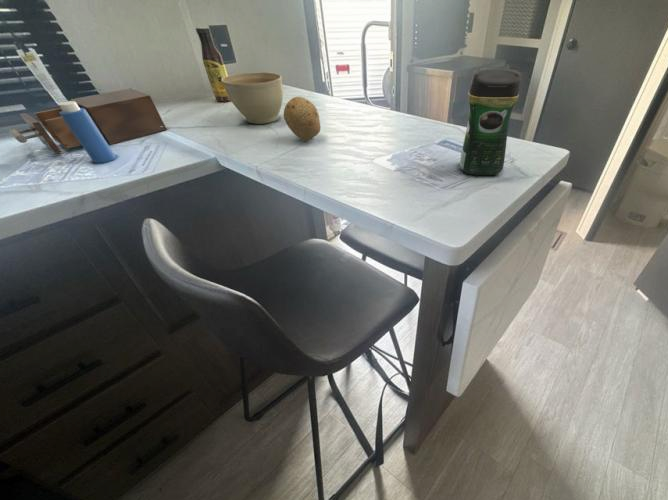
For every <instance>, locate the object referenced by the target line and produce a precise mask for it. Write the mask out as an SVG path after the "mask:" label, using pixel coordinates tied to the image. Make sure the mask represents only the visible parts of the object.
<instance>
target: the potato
mask: <svg viewBox="0 0 668 500" xmlns="http://www.w3.org/2000/svg"><path fill="white" fill-rule="evenodd" d="M283 119H284V121H285V123H286V126H287V127H288V128H289V129H290V131H291V132H292V133H293V134H294V135H295V136H296V137H297V138H298V139H299V140H302V141H304V142H309V141H311V140H312V139H313V138H314V137H316V136H318V134H319V133H320V132H321V120H320V114H319V111H318V108H317V107H316V105H315V104H314V103H313V102H312V101H310V100H309V99H307V98H305V97H303V96H295V97H292V98H290V100H289V101H288V102H287V103H286V105H285V107H284V109H283Z"/></svg>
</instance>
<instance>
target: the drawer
mask: <svg viewBox="0 0 668 500" xmlns="http://www.w3.org/2000/svg"><path fill="white" fill-rule="evenodd" d="M79 108H82V107H80V106H79ZM85 110H86V109H85ZM61 111H63V110H62V109H61V108H60V107H57V108H52V109H47V110H42V111H38V112H33V114H34V115H35V116H36V118H37V119H38V120H39V121H38V120H37V119H35V118H34V117H32V116H31V115H30V114H28V113H26V112H23V113H19V115H20V117H21V118H22V119H23V120H24V122H25V123H26V124H27V126H28V127H29V128H24V129H20V130H16V129H14V128H11V129H9V130H8V133H9V135H11V137H12V138H14V139H15V140H16V141H18V142H19V143H21V144H26V143H27V141H28V140H30V139H35V138H38V140H39V141H40V142H41V143H42V144H43V145H44V146H45V147H47V148H48V149H49V150H50V151H52V152H53V153H54V154H55V155H56V154H61V153H62V150H61V149H60V148H59V146H58V145H57V144H56V143H58V144H59V145H60V146H62V147H64V149H71V148H75V147H78V146H82V145H81V143H80V142H79V140H78V139H77V138H76V136H75V135H74V133H73V132H72V130H71V129H70V128H69V126H68V125H67V123H66V122H65V121H64V119H63V118H62V116H61V115H60V113H59V112H61ZM86 111H87V113H88V114H89V116H90V117H91V119H92V121H93V122H94V124H95V125H96V127H97V128H98V130H99V131H100V133H101V134H102V136H103V138H104V139H106V138H105V136H104V134H103V133H102V131H101V130H100V128H99V127H98V125H97V123H96V122H95V120H94V119H93V117H92V116H91V114H90V113H89V111H88V110H86ZM31 132H33V133H32V134H28V135H23V134H27V133H31Z"/></svg>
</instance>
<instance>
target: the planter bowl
mask: <svg viewBox="0 0 668 500" xmlns="http://www.w3.org/2000/svg"><path fill="white" fill-rule="evenodd" d="M221 81H222V83H223V85H224V87H225V89H226V92H227V94H228V96H229V98H230V100H231V101H230V102H231V103H232V105H233V106H234V107H235V108H236V109H237V111H238V112H239V113H240V114H241V115H242V116H244V117H245V120H246V121H247V122H248V123H250V124H257V125H259V124H260V125H261V124H269V123H270V124H271V123H273V122H276V121H278V120H279V119H280V111H281V109H282V105H283V101H284V88H283V83H282V82H283V78H282V74H279V73H275V72H265V71H255V72H242V73H234V74H230V75H228V76H227V77H224V78H222V80H221Z"/></svg>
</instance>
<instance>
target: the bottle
mask: <svg viewBox="0 0 668 500" xmlns="http://www.w3.org/2000/svg"><path fill="white" fill-rule="evenodd" d="M58 106H59V108H61V109H62V110H63V111H61V112H59V113H60V115H61V116H62V118H63V119H64V121H65V122H66V123H67V125H68V126H69V128H70V129H71V130H72V132H73V133H74V135H75V136H76V138H77V139H78V140H79V142H80V143H81V145H80V146H82V148H83V149H84V150H85V151H86V153H87V155H88V156H89V158H90V159H91V161H92V162H93V163H95V164H103V163H108V162H112V161H113V160H115V159H116V158H117V156H116V155H115V153H114V151H113V149H111V147H110V144H109V143H107V142H106V141H105V139H104V138H103V136H102V134H101V133H100V131H99V130H98V128H97V127H96V125H95V124H94V122H93V121H92V119H91V117H90V116H89V114H88V113H87V111H86V110H85V109H84V108H79V106H78V105H77V103H76V102H75V101H71V100H66V101H61V102H59V103H58Z"/></svg>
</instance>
